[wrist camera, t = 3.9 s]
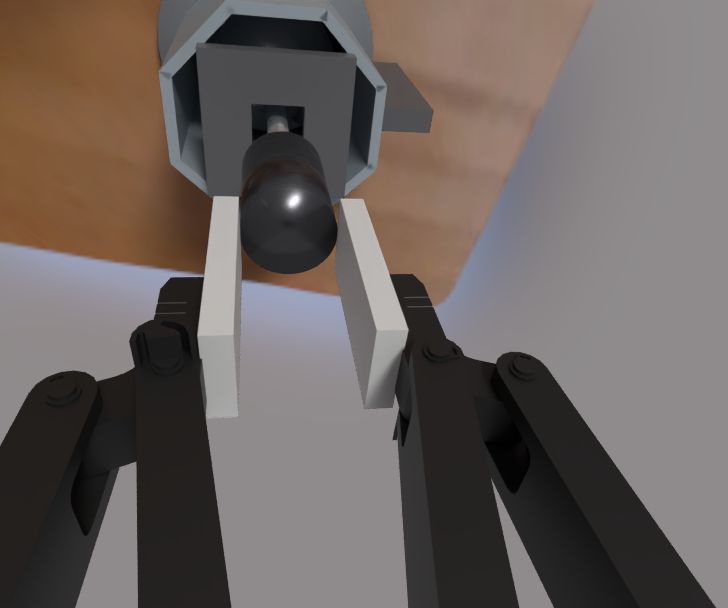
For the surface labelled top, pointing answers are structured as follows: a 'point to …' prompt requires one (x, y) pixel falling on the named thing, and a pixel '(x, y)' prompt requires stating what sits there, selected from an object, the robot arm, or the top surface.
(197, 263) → the top surface
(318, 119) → the carafe
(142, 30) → the top surface
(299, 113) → the plunger
